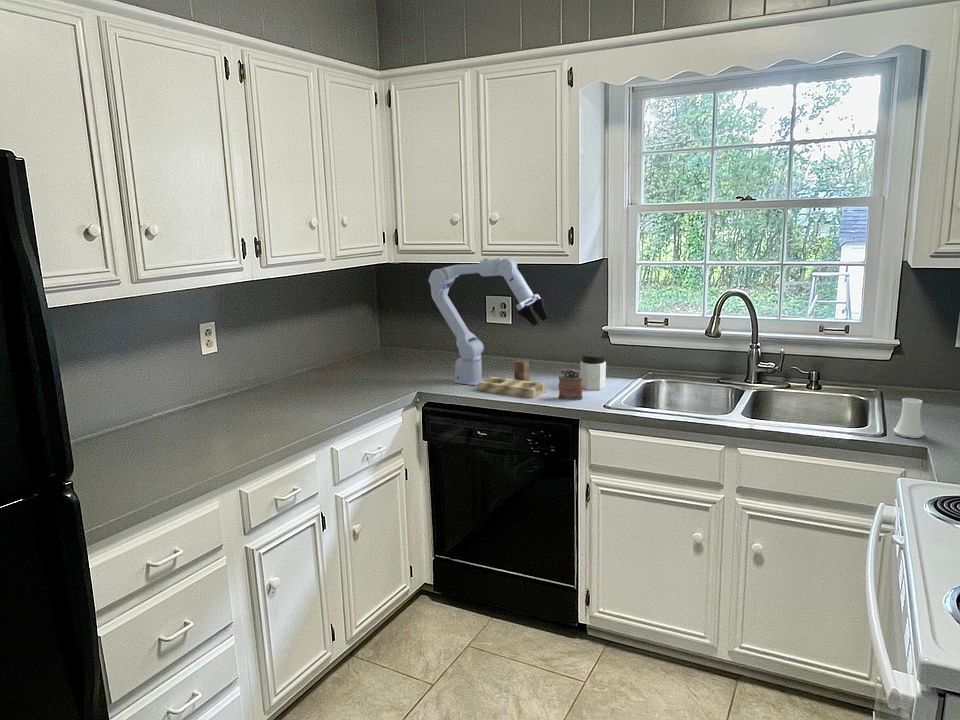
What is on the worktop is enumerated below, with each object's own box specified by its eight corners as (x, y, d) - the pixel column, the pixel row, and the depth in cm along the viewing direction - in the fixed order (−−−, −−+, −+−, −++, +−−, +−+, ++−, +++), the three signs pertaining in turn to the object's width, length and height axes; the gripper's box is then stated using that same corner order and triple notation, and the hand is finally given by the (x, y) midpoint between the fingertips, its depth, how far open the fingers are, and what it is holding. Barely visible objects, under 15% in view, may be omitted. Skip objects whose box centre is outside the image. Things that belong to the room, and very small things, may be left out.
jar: (580, 390, 258) (580, 356, 256) (579, 384, 266) (580, 352, 264) (606, 390, 257) (606, 356, 255) (604, 384, 265) (605, 352, 263)
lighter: (583, 397, 249) (583, 368, 247) (581, 400, 246) (582, 371, 243) (559, 396, 251) (559, 367, 249) (557, 398, 248) (557, 370, 246)
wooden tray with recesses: (478, 390, 260) (478, 382, 259) (492, 384, 268) (492, 376, 267) (533, 398, 249) (533, 389, 249) (545, 391, 257) (545, 383, 256)
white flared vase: (895, 428, 211) (899, 395, 208) (926, 433, 206) (930, 399, 204) (890, 435, 205) (894, 401, 203) (921, 440, 200) (925, 405, 198)
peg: (514, 382, 270) (514, 361, 269) (519, 380, 274) (519, 359, 272) (524, 384, 268) (523, 362, 267) (529, 381, 272) (529, 360, 270)
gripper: (519, 287, 249) (540, 321, 248) (537, 279, 261) (558, 311, 260) (504, 297, 253) (525, 331, 252) (523, 289, 265) (543, 321, 264)
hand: (540, 322), depth 257 cm, fingers open, 7 cm apart
